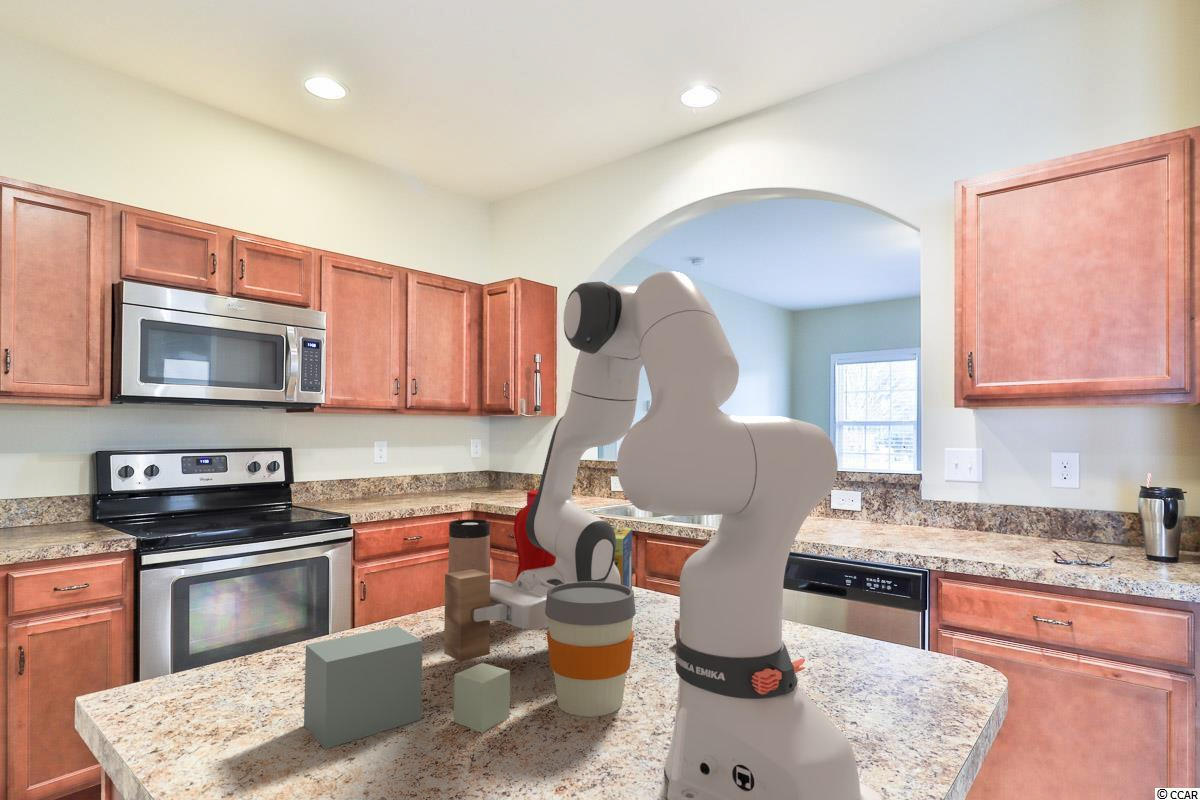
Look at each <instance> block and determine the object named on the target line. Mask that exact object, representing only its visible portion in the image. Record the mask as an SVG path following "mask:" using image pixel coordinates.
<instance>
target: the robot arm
mask: <svg viewBox="0 0 1200 800" xmlns="http://www.w3.org/2000/svg"><path fill="white" fill-rule="evenodd" d="M563 311H564V312H563V331H564V336H565V338H566V340H567V341H568V343H569V344H570V346H571V347H572V348H574V349H576V350H578V351H579V352H578V356H577V359H576V362H575V366H574V369H573V370H574V371H573V375H572V382H571V388H570V389H571V390H570V394H569V399H568V404H567V407H566V409H565V412H564V415H563V416H562V417H560V418H559V419H558V421H557V423H556V425H555V427H554V430H553V432H552V435H551V438H550V442H549V446H548V449H547V453H546V458H545V462H544V467H543V469H542V474H541V479H540V482H539V486H538V489H537V490H538V492H537V495H536V497H535V500H534V502H533V504H532V506H531V508H530V511H529V513H528V516H527V520H526V533H527V536H528V538H529V540H530V542H531V543H532V544H533V545H535V546H536V547H538V548H540V549H542V550H544V551H546V552H548V553H550V554H552V555H553V556H555V557H556V562H555V564H554V565H553V566H549V567H544V568H538V569H531V570H526V571H523V572H521V573H520V574H519V576H518V578H517V580H516V579H515V580H516V581H515V580H514V581H513V582H509V581H506V580H502V579H490V606H489V607H481V606H480V607H476V608H472V609H471V616H470V618H471V619H472V620H474V621H476V622H480V621H485V620H490V622H491V621H493V622H495V621H496V622H497V621H498V622H499V621H501V622H503V623H506V624H509V625H511V626H513V627H516V628H517V629H520V630H526V631H529V630H530V631H533V630H535V631H536V630H542V629H549V624H548V617H547V616H546V615H545V607H546V598H547V591H548V590H549V589H550V588H552V587H554V586H557V585H560V584H565V583H572V582H585V581H597V582H609V583H616V584H620V574H619V571H618V569H617V567H616V566H615V563H614V557H615V551H616V536H615V532H614V529H613V528H612V527H613V526H612V525H611V524H610V523H609V522H607V521H605V520H604V519H602V518H601V517H599V516H597V515H595V514H593V513H592V512H589V511H587V510H586V509H584V508H583V507H580V506H578V505H577V504H576V502H575V501H574V498H573V495H572V494H573V493H572V492H573V488H574V485H575V481H576V478H577V474H578V470H579V465H580V462H581V459H582V457H583V455H584V453H585V452H587V450H589V449H593V448H599V447H604V446H605V447H606V446H609V445H611V444H614V443H616V442H618V441H619V440H621V439H622V438H623V439H622V441H621V443H620V446H619V449H618V452H617V459H616V471H617V477H618V481H619V484H620V487H621V489H622V491H623V493H624V495H625V497H626V498H627V499H628V501H629V502H630V503H631V504H632V505H633V506H634V507H635V508H637V509H638V510H640V511H645V512H650V513H656V514H660V515H666V516H667V515H668V516H673V517H696V516H700V517H701V516H716V515H717V516H718V515H720V516H721V519H720V523H719V525H718V528H717V530H716V532H715V533H714V535H713V537H712V538H711V539H710V540H709V541H708V542H707V543H706V544H705V545H704V546H703V547H701V548H699V549H698V550H697V551H695V552H693V553H692V554H691V555H690V556H689V557H688V558H687V560H685V562H684V565H683V567H682V569H681V570H680V571H681V572H680V574H679V618H680V635H679V636H678V637H677V639H676V640H675V642H676V643H675V654H674V659H675V672H676V674H677V675H678V687H677V700H676V708H675V717H674V725H673V731H672V736H671V737H672V738H671V742H670V747H669V750H668V753H667V755H666V756H667V757H666V759H665V763H664V770H665V774H666V776H667V779H668V781H669V782H668V785H667V793H666V796H667V797H666V798H667V800H883V799H884V798H883V795H882V794H881V793H880V792H879V791H876V790H875V789H873V788H872V787H870V786H868V785H867V784H865V783H863V782H861V781H860V777H859V769H858V766H857V759H856V755H855V752H854V748H853V746H852V743H851V742H850V739H848V737H847V735H845V733H844V732H843V731H841V729H840V728H839V727H837V725H836V724H835V723H834V722H832V720H831V719H830V718H829V717H828V716H827V715H826V714H825V713H824V712H823V711H822V710H821V708H819V706H818V705H817V704H816V703H815V702H814V701H813V700H812V699H811V698H810V696H809V695H808V694H807V693H806V692H805V691H804V690H803V689H802V688H801V687H800V686H799V684H798V682H799V680H798V678H797V675H796V673H797V674H798V673H799V672H801V671H804V670H805V669H806V667H805V666H803V664H804V663H805V661H806V659H805V658H802V657H801V658H800V659H797V660H795V661H792V660H791V659H792V658H791V657H790V655H789V651H788V648H787V646H786V644H785V642H784V641H783V600H784V599H783V598H784V582H785V572H786V566H787V564H788V559H789V556H790V554H791V550H792V548H793V545H794V542H795V540H796V537H797V536H798V533H799V531H800V529H801V527H802V526H803V524H804V522H805V520H807V518H808V516H809V515H810V514H811V513H812V512H813V510H814V509H815V508H817V506H818V505H819V504H820V503H821V502H822V501H824V500H825V499H826V498H827V497H828V496H829V494H830V493H831V492H832V489H833V488H834V486H835V484H836V483H835V482H836V480H837V477H838V476H837V474H838V467H839V466H838V463H839V462H838V456H837V452H836V449H835V446H834V443H833V441H832V439H831V438H830V437H829V435H828V434H827V433H826V431H825V430H824V429H823V428H822V427H820V426H818V425H817V424H813V423H811V422H807V421H803V420H799V419H795V418H791V417H786V416H781V415H732V414H727V413H724V412H723V411H722V410H721V409H720V407H721V406H723V404H725V402H727V401H728V400H729V399H730V398H731V396H732V395H733V393H734V392H735V391H736V388H737V385H738V383H739V376H740V375H739V373H740V366H739V363H738V360H737V358H736V356H735V353H734V351H733V349H732V347H731V345H730V342H729V340H728V338H727V337H726V334H725V332H724V329H723V328H722V325H721V323H720V321H719V318H718V317H717V315H716V313H715V311H714V309H713V308H712V306H711V304H710V303H709V301H708V300H707V298H706V296H705V295H704V294H703V292H702V291H701V290H700V289H699V287H698V286H697V285H696V284H695V283H694V282H693V280H691V278H689V277H688V276H686V275H685V274H684V273H680V272H677V271H672V270H670V271H669V270H666V271H665V270H664V271H660V272H656V273H653V274H652V275H649V276H648V277H646V278H645V279H644V280H643V281H641V283H640V284H639V285H636V284H635V285H634V284H623V283H622V284H621V283H606V282H604V281H588V282H583V283H579V284H578V285H577V286H576V287H574V289H572V290H571V292H570V294H569V295H568V298H567V300H566V302H565V307H564V310H563ZM643 366H644V367H643ZM642 367H643V368H644V371H645V375H646V378H647V382H648V386H649V389H650V395H651V396H650V397H651V398H650V399H651V400H650V405H649V409H648V411H647V412H646V413H645V415H644V416H643V417H642V418H641V419H640V420H639V421H637V422H636V423H635V424H633V422H634V418H635V414H636V408H637V401H638V396H639V395H638V393H639V386H640V384H639V383H640V374H641V370H642ZM800 666H801V667H800Z"/></svg>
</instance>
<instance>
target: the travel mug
mask: <svg viewBox="0 0 1200 800" xmlns="http://www.w3.org/2000/svg"><path fill="white" fill-rule="evenodd" d="M448 526H449V528H448V532H449V533H448V564H447V565H448V566H447V568H448V570H447V573H453V572H460V571H466V570H473V569H474V570H478V571H481V572H485V573H488V574H490V575H491V568H490V567H491V566H490V565H491V559H490V558H491V552H490V551H491V549H490V548H491V542H490V541H491V540H490V539H491V537H490V536H491V535H490V534H491V521H489V522H488V521H487V520H485V519H478V518H477V519H476V518H474V519H473V518H471V519H468V518H467V519H466V518H465V519H457V520H452V521H449V524H448Z"/></svg>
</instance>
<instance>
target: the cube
mask: <svg viewBox="0 0 1200 800" xmlns="http://www.w3.org/2000/svg"><path fill="white" fill-rule="evenodd" d="M453 681H454V684H453V685H454V688H453V689H454V692H453V693H454V694H453V696H454V699H453V722H454V723H456V724H459V725H462V726H464V727H467V728H469V729H472V730H475V731H477V732H480V733H483V732H485V731H487V730H489V729H491V728H493V727H494V726H496V725H498V724H500V723H502V722H504V721H506V720H507V719H510V717H511V715H510V713H511V712H510V711H511V710H510V709H511V708H510V705H511V704H510V703H511V701H510V700H511V670H510V669H505V668H502V667H498V666H495V665H491V664H488V663H484V662H481V663H479V664H475V665H473V666H472V667H471V666H470V667H468V668H467V669H464V670H462V671H459V672H457V673H455V674H454V680H453Z"/></svg>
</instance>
